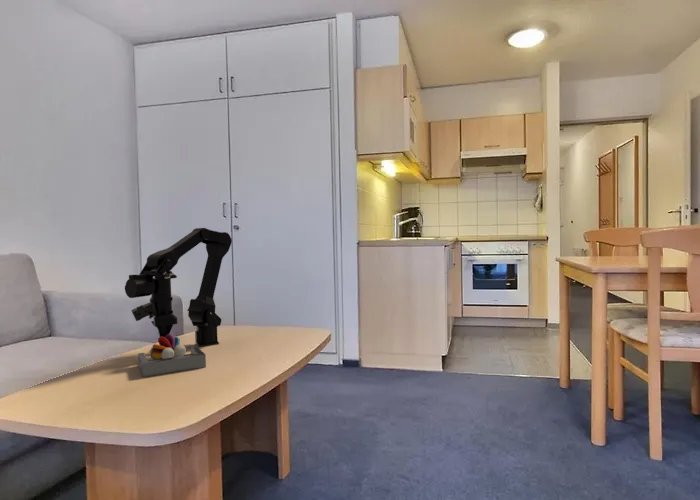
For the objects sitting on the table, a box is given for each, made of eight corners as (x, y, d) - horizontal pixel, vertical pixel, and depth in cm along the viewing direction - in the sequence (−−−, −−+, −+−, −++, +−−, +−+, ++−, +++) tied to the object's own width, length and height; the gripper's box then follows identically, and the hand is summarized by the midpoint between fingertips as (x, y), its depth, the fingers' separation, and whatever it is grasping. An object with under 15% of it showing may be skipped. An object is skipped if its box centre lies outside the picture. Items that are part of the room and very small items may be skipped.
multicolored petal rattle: (144, 361, 136) (143, 336, 136) (171, 353, 145) (170, 330, 144) (163, 364, 132) (162, 339, 132) (190, 356, 140) (189, 332, 140)
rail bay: (196, 356, 139) (195, 345, 139) (205, 367, 127) (205, 354, 127) (138, 365, 131) (137, 353, 131) (143, 377, 119) (142, 363, 119)
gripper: (130, 293, 146) (132, 342, 146) (134, 299, 129) (137, 354, 130) (167, 290, 151) (169, 337, 152) (176, 296, 135) (178, 348, 135)
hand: (163, 344), depth 142 cm, fingers closed
